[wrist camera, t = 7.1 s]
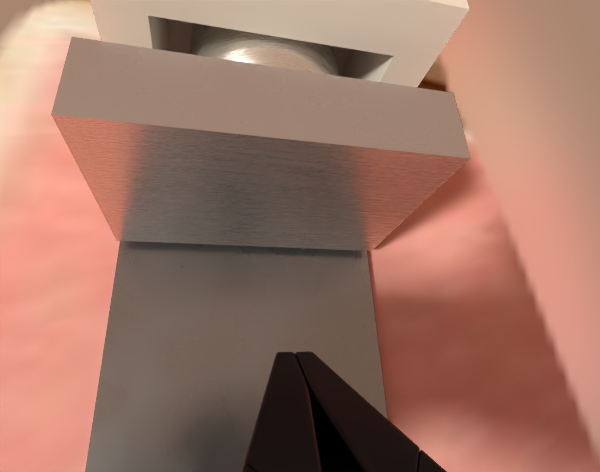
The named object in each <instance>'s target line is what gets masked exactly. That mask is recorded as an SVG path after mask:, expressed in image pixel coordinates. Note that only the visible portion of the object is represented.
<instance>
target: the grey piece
mask: <svg viewBox="0 0 600 472" xmlns="http://www.w3.org/2000/svg"><path fill="white" fill-rule="evenodd" d="M51 115H52V117H53V119H54V121H55V122H56V124H57V126H58V128H59V130H60V132H61V134H62V136H63V138H64V140H65V142H66V144H67V145H68V147H69V149H70V151H71V153H72V155H73V157H74V159H75V161H76V163H77V165H78V167H79V169H80V170H81V172H82V174H83V176H84V178H85V180H86V182H87V184H88V186H89V188H90V190H91V192H92V193H93V195H94V197H95V199H96V201H97V203H98V205H99V207H100V209H101V211H102V213H103V215H104V216H105V218H106V220H107V222H108V224H109V226H110V228H111V230H112V232H113V234H114V236H115V238H116V239H117V241H138V242H163V243H187V244H212V245H236V246H261V247H285V248H309V249H334V250H358V251H372V250H373V249H374V248H375V247H376V246H377V245H378V244H379V243H381V242H382V241H383V240H384V239H385V238H386V237H387V236H388V235H389V234H390V233H391V232H392V231H393V230H395V229H396V228H397V227H398V226H399V225H400V224H401V223H402V222H403V221H404V220H405V219H406V218H407V217H408V216H410V215H411V214H412V213H413V212H414V211H415V210H416V209H417V208H418V207H419V206H420V205H421V204H422V203H424V202H425V201H426V200H427V199H428V198H429V197H430V196H431V195H432V194H433V193H434V192H435V191H436V190H437V189H439V188H440V187H441V186H442V185H443V184H444V183H445V182H446V181H447V180H448V179H449V178H450V177H451V176H452V175H454V174H455V173H456V172H457V171H458V170H459V169H460V168H461V167H462V166H463V165H464V164H465V163H466V162H468V161H469V160H470V159H471V157H470V154H469V150H468V146H467V142H466V139H465V135H464V131H463V127H462V124H461V120H460V116H459V112H458V109H457V105H456V101H455V97H454V94H453V93H451V92H444V91H437V90H430V89H424V88H417V87H410V86H403V85H396V84H389V83H383V82H376V81H369V80H362V79H355V78H349V77H342V76H339V75H338V66H337V57H336V49H335V46H330V45H324V44H318V43H312V42H306V41H300V40H294V39H288V38H282V37H276V36H269V35H263V34H257V33H251V32H245V31H239V30H233V29H227V28H221V27H215V26H209V25H203V24H197V23H192V28H191V38H190V49H189V54H185V53H178V52H172V51H165V50H158V49H151V48H144V47H138V46H131V45H124V44H117V43H110V42H103V41H97V40H90V39H83V38H76V37H72V38H71V42H70V46H69V50H68V53H67V57H66V61H65V65H64V68H63V72H62V76H61V80H60V83H59V87H58V91H57V95H56V98H55V102H54V106H53V110H52V114H51Z"/></svg>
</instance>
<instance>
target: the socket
mask: <svg viewBox="0 0 600 472" xmlns="http://www.w3.org/2000/svg"><path fill="white" fill-rule="evenodd" d="M90 2H91V6H92V9H93V13H94V16H95V20H96V24H97V27H98V31H99V34H100V38H101V41H103V42H110V43H117V44H124V45H131V46H138V47H144V48H151V49H158V50H165V51H172V52H178V53H185V54H189V49H190V38H191V28H192V23H197V24H203V25H209V26H215V27H221V28H227V29H233V30H239V31H245V32H251V33H257V34H263V35H269V36H276V37H282V38H288V39H294V40H300V41H306V42H312V43H318V44H324V45H330V46H335V49H336V57H337V66H338V75H339V76H342V77H349V78H355V79H362V80H369V81H376V82H383V83H389V84H396V85H403V86H410V87H418V85H419V84H420V82H421V81H422V79H423V78H424V76H425V75H426V74H427V72H428V71H429V69H430V68H431V66H432V65H433V63H434V62H435V60H436V59H437V57H438V56H439V54H440V53H441V51H442V50H443V48H444V46H445V45H446V44H447V42H448V41H449V39H450V38H451V36H452V35H453V33H454V32H455V30H456V29H457V27H458V26H459V24H460V22H461V21H462V20H463V18H464V16H465V15H466V13H467V12H468V10H469V6H468V3H467V0H90Z"/></svg>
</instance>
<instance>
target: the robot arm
mask: <svg viewBox="0 0 600 472" xmlns="http://www.w3.org/2000/svg"><path fill="white" fill-rule="evenodd" d="M419 450H420V449H419V447H418V446H417V445H416V444H415V443H414V442H412V441H411V440H410V439H409V438H408V437H407V436H406V435H405V434H404V433H402V432H401V431H400V430H399V429H398V428H397V427H396V426H395V425H393V424H392V423H391V422H390V421H389V420H388V419H387V418H386V417H385V416H383V415H382V414H381V413H380V412H379V411H378V410H377V409H376V408H375V407H373V406H372V405H371V404H370V403H369V402H368V401H367V400H366V399H365V398H363V397H362V396H361V395H360V394H359V393H358V392H357V391H356V390H354V389H353V388H352V387H351V386H350V385H349V384H348V383H347V382H346V381H344V380H343V379H342V378H341V377H340V376H339V375H338V374H337V373H336V372H334V371H333V370H332V369H331V368H330V367H329V366H328V365H327V364H326V363H324V362H323V361H322V360H321V359H320V358H319V357H318V356H317V355H315V354H314V353H313V352H310V351H306V352H296V353H295V354H294V353H293V352H278V353H276V356H275V359H274V362H273V366H272V369H271V373H270V376H269V379H268V383H267V386H266V389H265V393H264V396H263V399H262V403H261V406H260V409H259V413H258V416H257V419H256V423H255V426H254V429H253V433H252V436H251V440H250V443H249V446H248V450H247V453H246V456H245V460H244V464H243V466H242V469H241V472H446V471H445V470H444V469H443V468H442V467H441V466H439V465H438V464H437V463H436V462H435V461H434V460H433V459H432V458H430V457H429V456H428V455H427V454H426V453H425V452H424V451H422V450H421V451H420V452H419Z"/></svg>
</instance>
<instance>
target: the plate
mask: <svg viewBox="0 0 600 472" xmlns="http://www.w3.org/2000/svg"><path fill="white" fill-rule="evenodd" d="M306 351H310V352H313V353H314V354H315V355H317V356H318V357H319V358H320V359H321V360H322V361H323V362H324V363H326V364H327V365H328V366H329V367H330V368H331V369H332V370H333V371H334V372H336V373H337V374H338V375H339V376H340V377H341V378H342V379H343V380H344V381H346V382H347V383H348V384H349V385H350V386H351V387H352V388H353V389H354V390H356V391H357V392H358V393H359V394H360V395H361V396H362V397H363V398H365V399H366V400H367V401H368V402H369V403H370V404H371V405H372V406H373V407H375V408H376V409H377V410H378V411H379V412H380V413H381V414H382V415H383V416H385V417H386V418H387V419H388V417H387V409H386V401H385V393H384V385H383V377H382V369H381V361H380V353H379V344H378V336H377V328H376V320H375V312H374V304H373V296H372V288H371V280H370V272H369V264H368V256H367V251H358V250H334V249H309V248H285V247H261V246H236V245H212V244H187V243H163V242H138V241H120V245H119V252H118V259H117V265H116V272H115V279H114V285H113V292H112V298H111V305H110V312H109V318H108V325H107V332H106V338H105V345H104V351H103V358H102V365H101V371H100V378H99V385H98V391H97V398H96V404H95V411H94V418H93V424H92V431H91V438H90V444H89V451H88V457H87V464H86V471H85V472H241V469H242V466H243V464H244V460H245V456H246V453H247V450H248V446H249V443H250V440H251V436H252V433H253V429H254V426H255V423H256V419H257V416H258V413H259V409H260V406H261V403H262V399H263V396H264V393H265V389H266V386H267V383H268V379H269V376H270V373H271V369H272V366H273V362H274V359H275V356H276V353H278V352H293V353H294V354H295V353H296V352H306Z"/></svg>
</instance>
